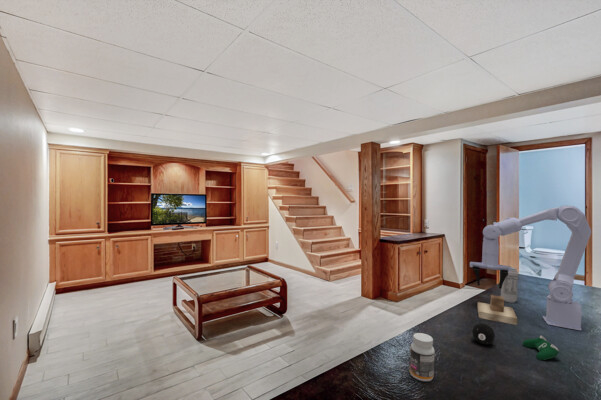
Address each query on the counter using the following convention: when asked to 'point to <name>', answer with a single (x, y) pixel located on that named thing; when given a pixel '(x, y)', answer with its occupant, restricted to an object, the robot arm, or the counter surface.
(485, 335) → the billiard ball
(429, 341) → the pill bottle
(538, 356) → the gaming controller
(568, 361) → the counter surface
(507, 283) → the energy drink can
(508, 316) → the birch base
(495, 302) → the walnut block
